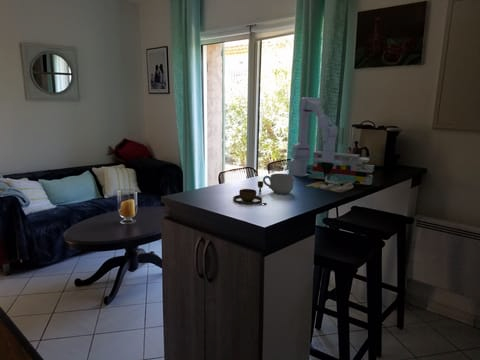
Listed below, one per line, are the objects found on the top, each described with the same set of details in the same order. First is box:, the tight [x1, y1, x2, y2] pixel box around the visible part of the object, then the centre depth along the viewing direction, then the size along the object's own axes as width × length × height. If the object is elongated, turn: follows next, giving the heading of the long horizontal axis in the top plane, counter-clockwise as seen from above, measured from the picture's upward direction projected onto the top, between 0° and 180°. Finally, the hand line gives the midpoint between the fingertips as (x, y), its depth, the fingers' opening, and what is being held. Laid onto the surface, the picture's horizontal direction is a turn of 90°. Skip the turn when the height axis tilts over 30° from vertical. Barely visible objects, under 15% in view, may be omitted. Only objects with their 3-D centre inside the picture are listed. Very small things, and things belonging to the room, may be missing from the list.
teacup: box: [262, 173, 295, 195], centre depth 159 cm, size 14×11×8 cm
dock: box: [305, 181, 355, 193], centre depth 175 cm, size 19×14×4 cm
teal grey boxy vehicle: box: [324, 173, 344, 186], centre depth 172 cm, size 7×7×5 cm
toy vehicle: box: [311, 150, 375, 187], centre depth 185 cm, size 8×30×15 cm, turn 62°
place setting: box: [232, 180, 268, 207], centre depth 147 cm, size 18×20×6 cm
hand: (326, 177), depth 175 cm, fingers closed
